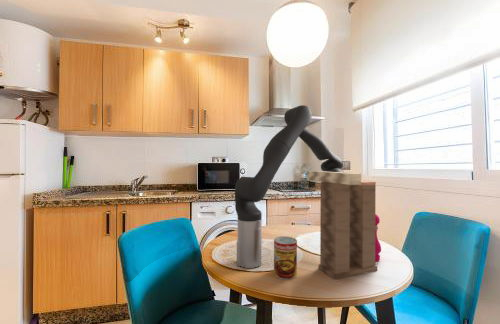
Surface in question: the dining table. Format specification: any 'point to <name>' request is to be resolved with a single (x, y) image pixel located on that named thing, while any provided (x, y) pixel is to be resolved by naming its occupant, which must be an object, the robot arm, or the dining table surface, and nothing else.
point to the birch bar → (335, 177)
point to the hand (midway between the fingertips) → (351, 213)
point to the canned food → (285, 257)
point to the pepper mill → (377, 244)
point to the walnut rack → (347, 229)
